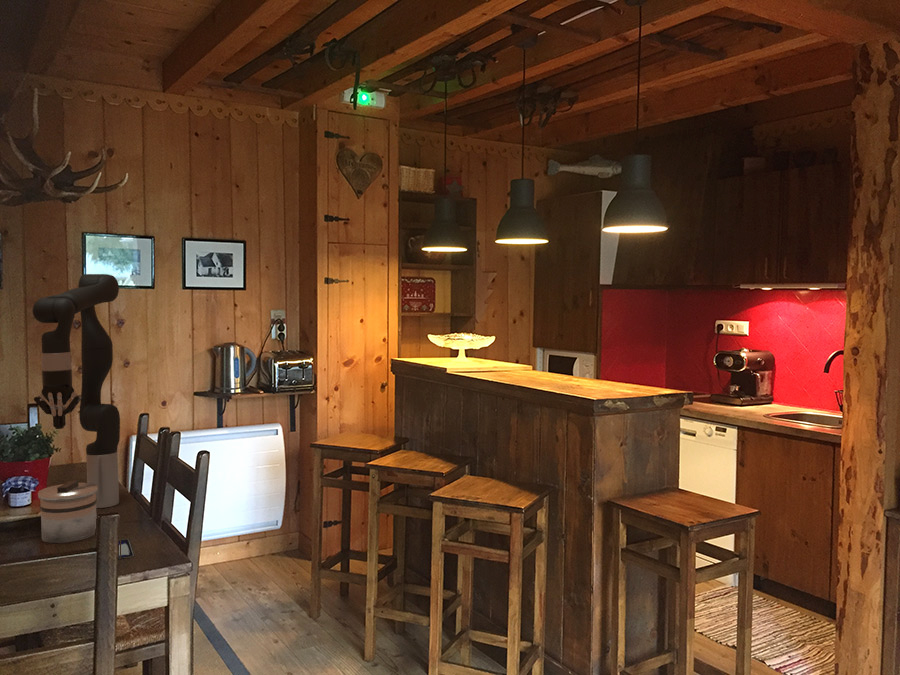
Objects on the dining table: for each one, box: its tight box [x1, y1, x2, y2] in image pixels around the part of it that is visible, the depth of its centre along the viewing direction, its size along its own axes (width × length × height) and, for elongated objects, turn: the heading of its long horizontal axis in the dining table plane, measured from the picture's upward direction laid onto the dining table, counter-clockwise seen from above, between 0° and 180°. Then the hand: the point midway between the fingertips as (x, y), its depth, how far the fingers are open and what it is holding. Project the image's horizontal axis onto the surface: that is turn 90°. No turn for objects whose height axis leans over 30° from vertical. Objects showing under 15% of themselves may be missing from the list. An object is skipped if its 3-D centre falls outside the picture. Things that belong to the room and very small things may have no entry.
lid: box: [37, 480, 98, 501], centre depth 210 cm, size 15×15×3 cm
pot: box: [39, 493, 98, 544], centre depth 210 cm, size 14×14×12 cm
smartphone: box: [118, 538, 135, 561], centre depth 197 cm, size 7×1×15 cm
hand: (59, 428), depth 211 cm, fingers closed
